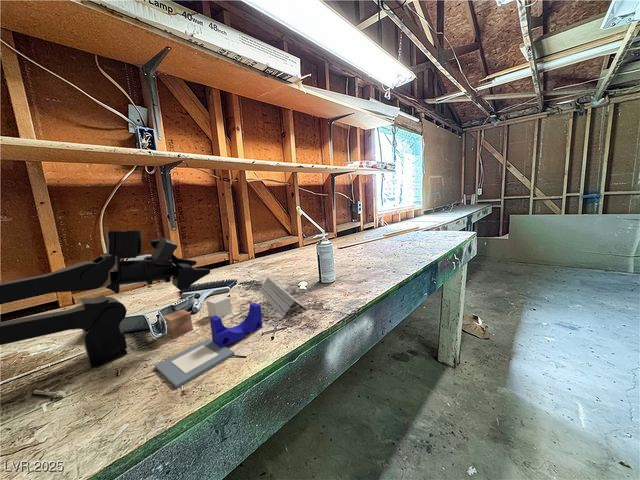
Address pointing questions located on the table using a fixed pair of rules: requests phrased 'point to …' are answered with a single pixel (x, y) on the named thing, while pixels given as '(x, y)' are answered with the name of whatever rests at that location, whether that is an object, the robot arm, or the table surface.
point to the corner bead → (280, 292)
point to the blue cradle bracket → (230, 335)
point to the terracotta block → (178, 323)
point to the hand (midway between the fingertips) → (202, 266)
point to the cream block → (219, 306)
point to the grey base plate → (193, 362)
